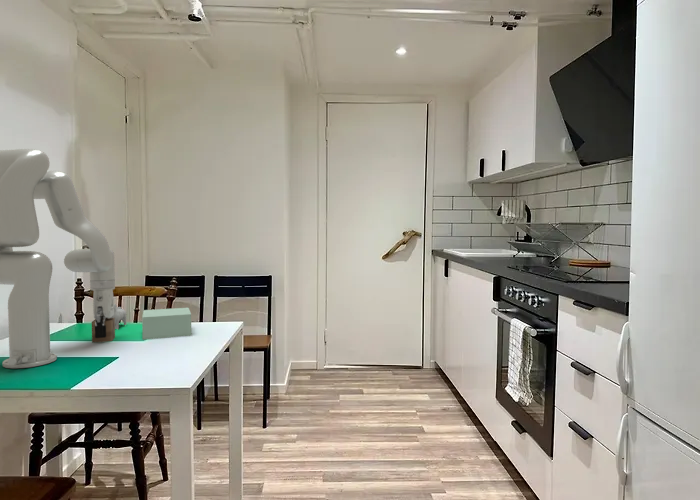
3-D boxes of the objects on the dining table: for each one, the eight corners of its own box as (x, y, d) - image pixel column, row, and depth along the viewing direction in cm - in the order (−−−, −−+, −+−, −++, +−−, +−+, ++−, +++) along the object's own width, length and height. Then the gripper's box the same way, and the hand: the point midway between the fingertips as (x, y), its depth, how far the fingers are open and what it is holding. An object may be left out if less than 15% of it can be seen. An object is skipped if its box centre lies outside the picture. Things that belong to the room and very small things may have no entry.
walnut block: (111, 341, 156) (111, 320, 155) (92, 342, 154) (91, 321, 154) (115, 337, 161) (114, 317, 161) (96, 338, 160) (95, 318, 159)
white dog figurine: (98, 331, 171) (97, 303, 170) (115, 325, 184) (114, 298, 183) (112, 331, 171) (112, 303, 171) (128, 324, 184) (128, 298, 183)
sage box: (191, 336, 164) (191, 314, 164) (142, 340, 158) (142, 317, 158) (188, 327, 179) (188, 307, 179) (144, 331, 173) (143, 310, 173)
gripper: (109, 287, 150) (111, 339, 150) (119, 282, 166) (120, 328, 167) (84, 288, 148) (85, 340, 148) (96, 283, 164) (97, 330, 165)
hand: (103, 334), depth 158 cm, fingers open, 9 cm apart
